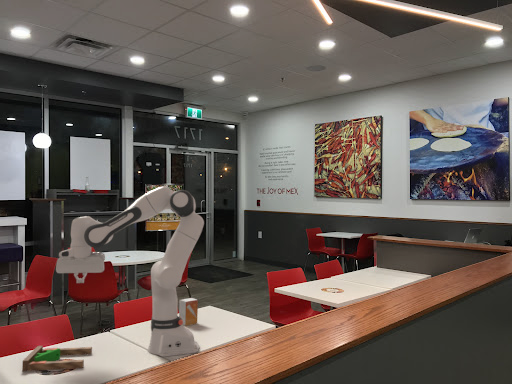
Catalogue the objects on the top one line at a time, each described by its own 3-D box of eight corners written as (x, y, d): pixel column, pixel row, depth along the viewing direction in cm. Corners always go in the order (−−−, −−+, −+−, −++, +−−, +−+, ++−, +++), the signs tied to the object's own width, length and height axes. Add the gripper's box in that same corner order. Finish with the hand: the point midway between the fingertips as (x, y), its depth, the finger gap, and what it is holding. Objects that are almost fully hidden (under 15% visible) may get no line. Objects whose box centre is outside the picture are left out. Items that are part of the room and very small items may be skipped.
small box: (185, 326, 221) (185, 301, 222) (178, 323, 226) (179, 299, 226) (197, 323, 227) (198, 299, 227) (190, 321, 231) (191, 297, 232)
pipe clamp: (53, 358, 175) (54, 347, 175) (60, 359, 173) (60, 348, 174) (29, 367, 165) (29, 355, 165) (36, 369, 163) (36, 357, 163)
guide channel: (91, 352, 181) (92, 343, 181) (82, 367, 164) (82, 357, 164) (37, 355, 177) (37, 345, 177) (22, 371, 160) (22, 360, 161)
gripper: (106, 251, 193) (105, 280, 193) (59, 251, 190) (58, 281, 189) (103, 252, 187) (103, 283, 187) (55, 253, 184) (54, 284, 183)
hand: (80, 282), depth 188 cm, fingers closed
